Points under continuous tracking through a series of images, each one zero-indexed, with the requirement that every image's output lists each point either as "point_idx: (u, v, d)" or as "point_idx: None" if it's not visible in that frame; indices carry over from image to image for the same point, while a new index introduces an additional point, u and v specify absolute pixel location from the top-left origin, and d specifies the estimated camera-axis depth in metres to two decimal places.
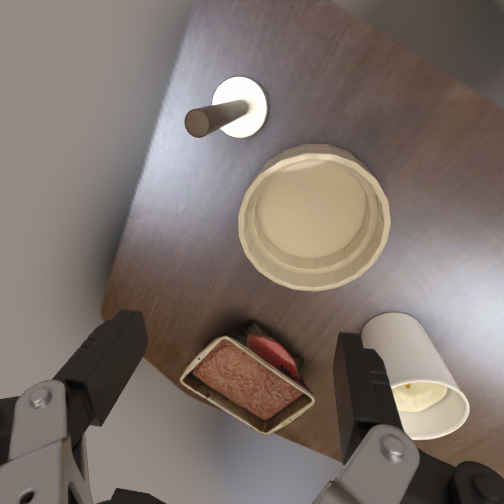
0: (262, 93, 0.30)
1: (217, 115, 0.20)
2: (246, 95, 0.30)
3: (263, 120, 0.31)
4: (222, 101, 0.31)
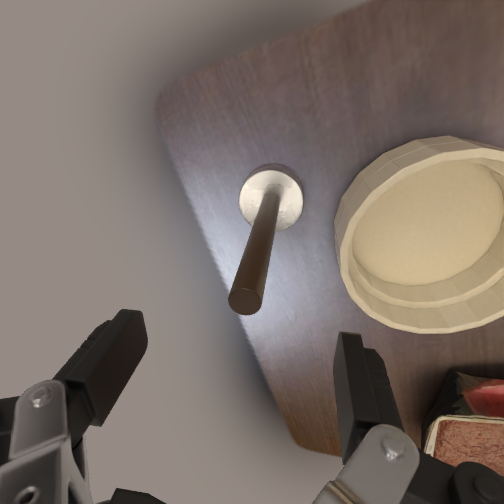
0: (279, 173, 0.25)
1: (257, 266, 0.16)
2: (267, 187, 0.26)
3: (300, 193, 0.26)
4: (252, 209, 0.27)
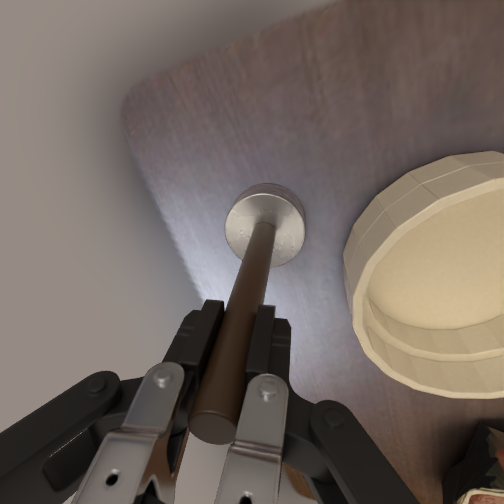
0: (275, 197, 0.20)
1: (236, 357, 0.11)
2: (259, 214, 0.21)
3: (301, 221, 0.21)
4: (241, 240, 0.22)
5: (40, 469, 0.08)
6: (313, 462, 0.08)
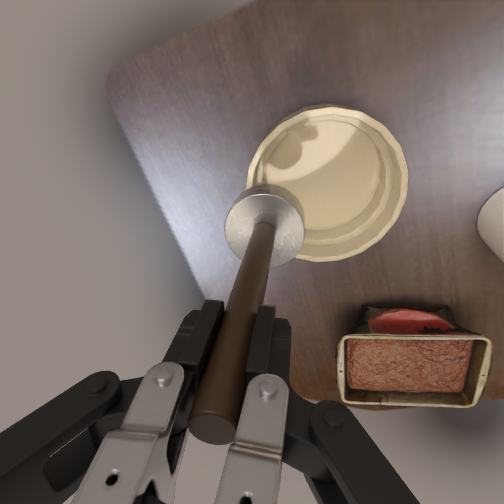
0: (275, 197, 0.20)
1: (235, 357, 0.11)
2: (259, 215, 0.21)
3: (301, 221, 0.21)
4: (241, 241, 0.22)
5: (40, 469, 0.08)
6: (313, 462, 0.08)
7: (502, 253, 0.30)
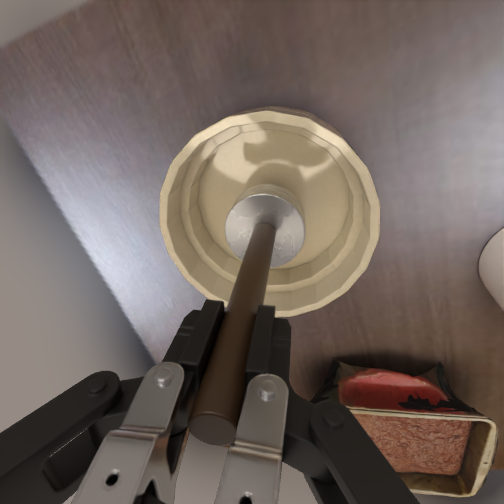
0: (275, 197, 0.20)
1: (236, 358, 0.11)
2: (259, 215, 0.21)
3: (301, 222, 0.21)
4: (241, 241, 0.22)
5: (40, 469, 0.08)
6: (313, 462, 0.08)
7: None
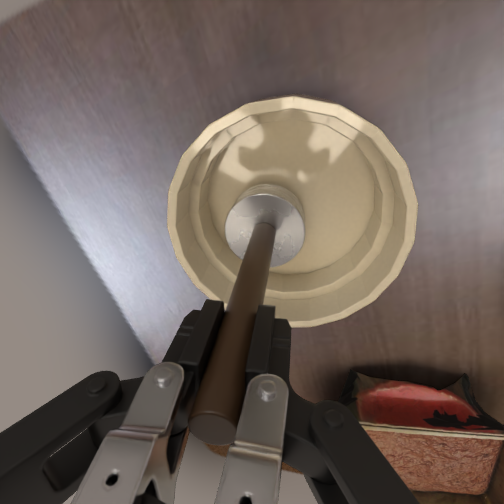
0: (275, 197, 0.20)
1: (236, 357, 0.11)
2: (259, 215, 0.21)
3: (301, 221, 0.21)
4: (241, 241, 0.22)
5: (40, 469, 0.08)
6: (313, 462, 0.08)
7: None
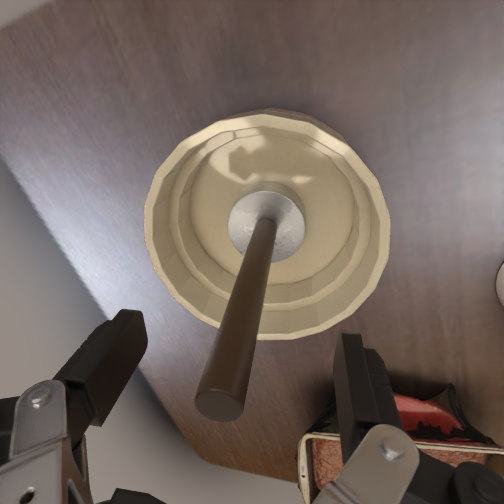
0: (276, 194, 0.21)
1: (239, 342, 0.11)
2: (261, 211, 0.21)
3: (302, 218, 0.21)
4: (243, 237, 0.23)
5: None
6: None
7: None
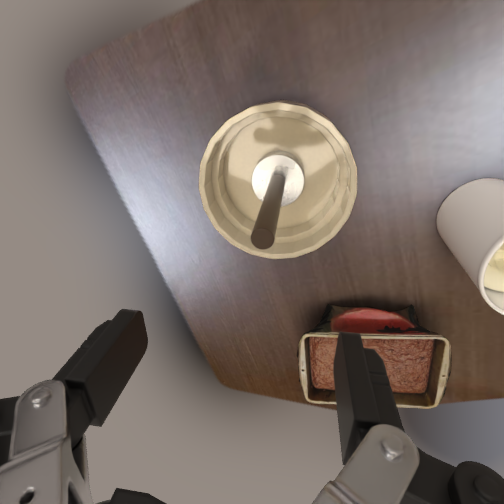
0: (285, 156, 0.31)
1: (270, 217, 0.22)
2: (274, 169, 0.32)
3: (302, 173, 0.32)
4: (262, 188, 0.33)
5: None
6: None
7: (454, 252, 0.30)
